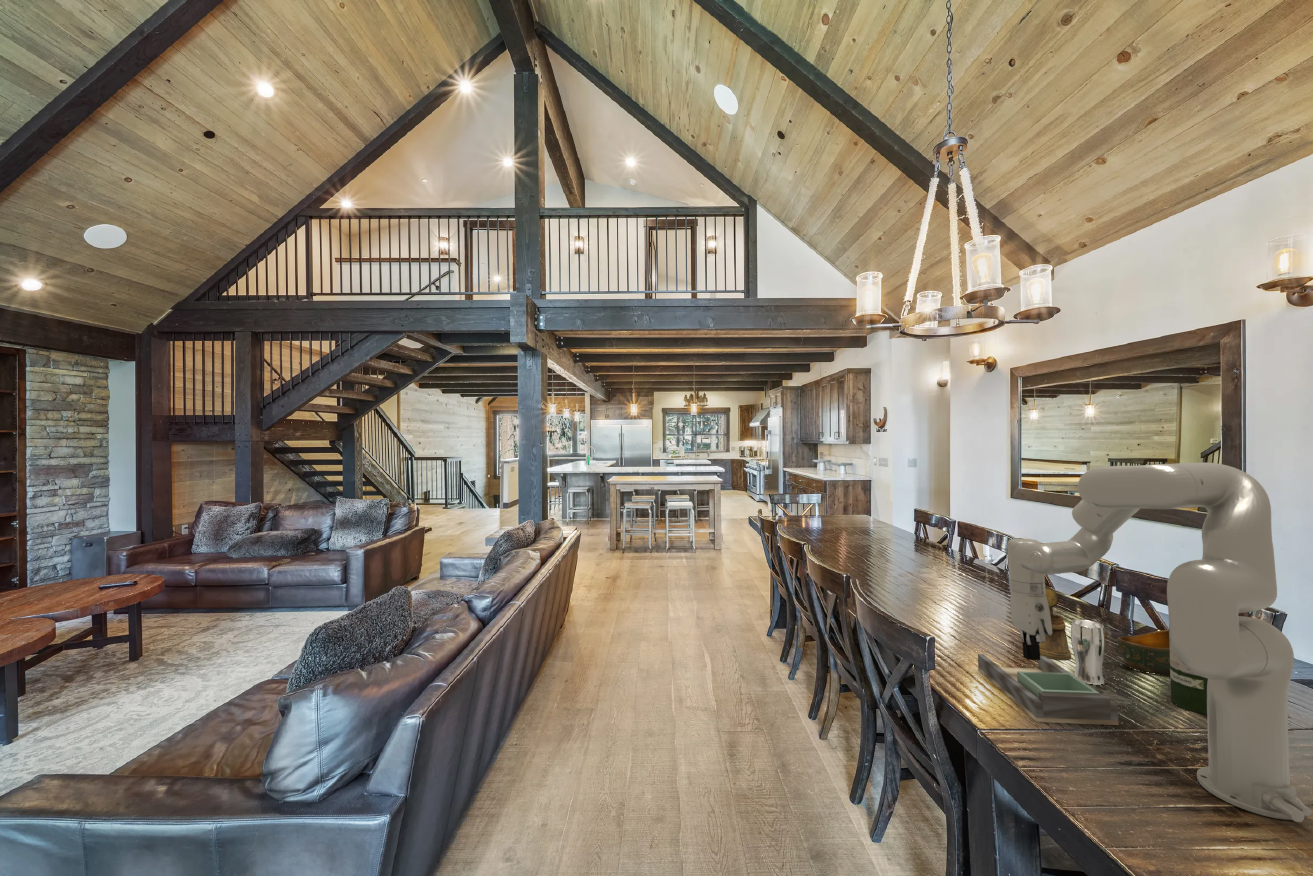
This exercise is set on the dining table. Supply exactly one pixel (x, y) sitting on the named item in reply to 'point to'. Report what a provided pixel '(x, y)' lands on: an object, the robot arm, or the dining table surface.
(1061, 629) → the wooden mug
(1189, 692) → the wine bottle
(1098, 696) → the bay
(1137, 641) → the green gold bowl
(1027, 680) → the box
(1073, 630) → the beer glass
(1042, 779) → the dining table surface
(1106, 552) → the robot arm
